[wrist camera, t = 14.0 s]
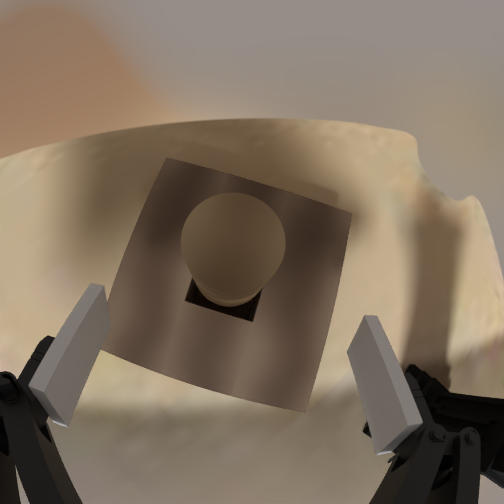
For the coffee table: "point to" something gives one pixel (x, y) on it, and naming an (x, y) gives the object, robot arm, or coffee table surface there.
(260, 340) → the walnut board
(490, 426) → the chess piece
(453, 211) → the coffee table surface
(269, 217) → the oak peg
